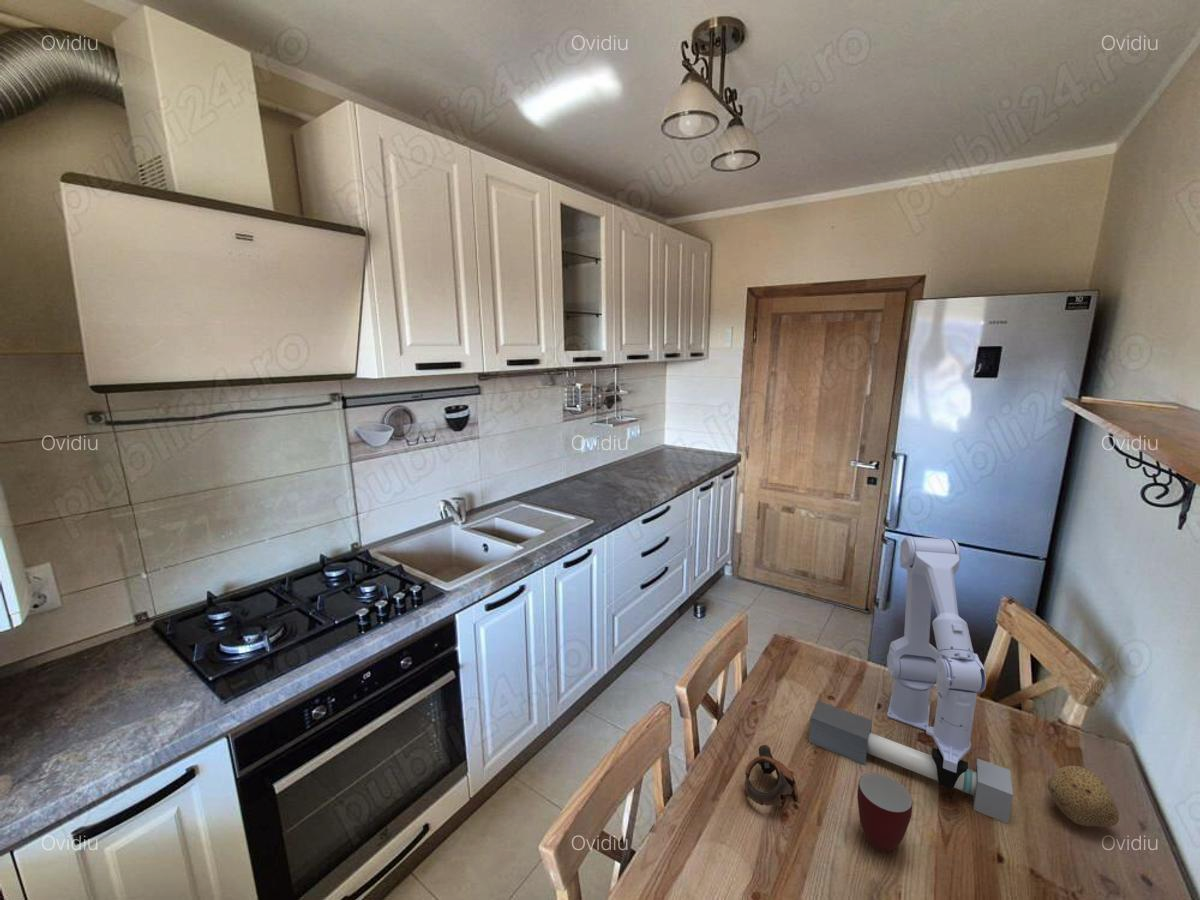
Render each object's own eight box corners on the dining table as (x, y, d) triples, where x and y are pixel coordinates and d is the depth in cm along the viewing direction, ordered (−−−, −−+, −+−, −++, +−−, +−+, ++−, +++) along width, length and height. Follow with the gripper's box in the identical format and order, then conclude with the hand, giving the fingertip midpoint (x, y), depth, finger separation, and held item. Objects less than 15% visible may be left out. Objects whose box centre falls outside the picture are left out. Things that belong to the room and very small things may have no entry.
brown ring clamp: (809, 816, 92) (795, 792, 89) (761, 830, 94) (745, 807, 91) (787, 753, 103) (774, 729, 100) (744, 766, 105) (730, 743, 101)
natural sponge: (1032, 792, 96) (1039, 747, 94) (1088, 803, 94) (1097, 756, 92) (1061, 835, 87) (1070, 786, 85) (1124, 848, 85) (1135, 798, 83)
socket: (973, 809, 92) (977, 781, 91) (973, 785, 98) (976, 758, 96) (1008, 824, 89) (1013, 795, 88) (1005, 798, 95) (1010, 770, 94)
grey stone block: (808, 742, 109) (810, 717, 108) (815, 724, 114) (817, 700, 113) (865, 765, 103) (867, 739, 102) (869, 745, 108) (872, 720, 107)
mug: (842, 805, 93) (846, 759, 92) (888, 810, 92) (893, 763, 91) (863, 860, 83) (869, 809, 81) (915, 867, 82) (922, 815, 80)
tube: (851, 751, 105) (853, 734, 104) (855, 739, 108) (856, 723, 108) (989, 807, 92) (992, 787, 91) (988, 791, 95) (991, 772, 94)
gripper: (930, 688, 103) (923, 745, 105) (926, 730, 91) (919, 794, 94) (973, 701, 99) (964, 761, 101) (974, 747, 87) (965, 813, 90)
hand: (945, 778), depth 97 cm, fingers closed on tube, 4 cm apart
